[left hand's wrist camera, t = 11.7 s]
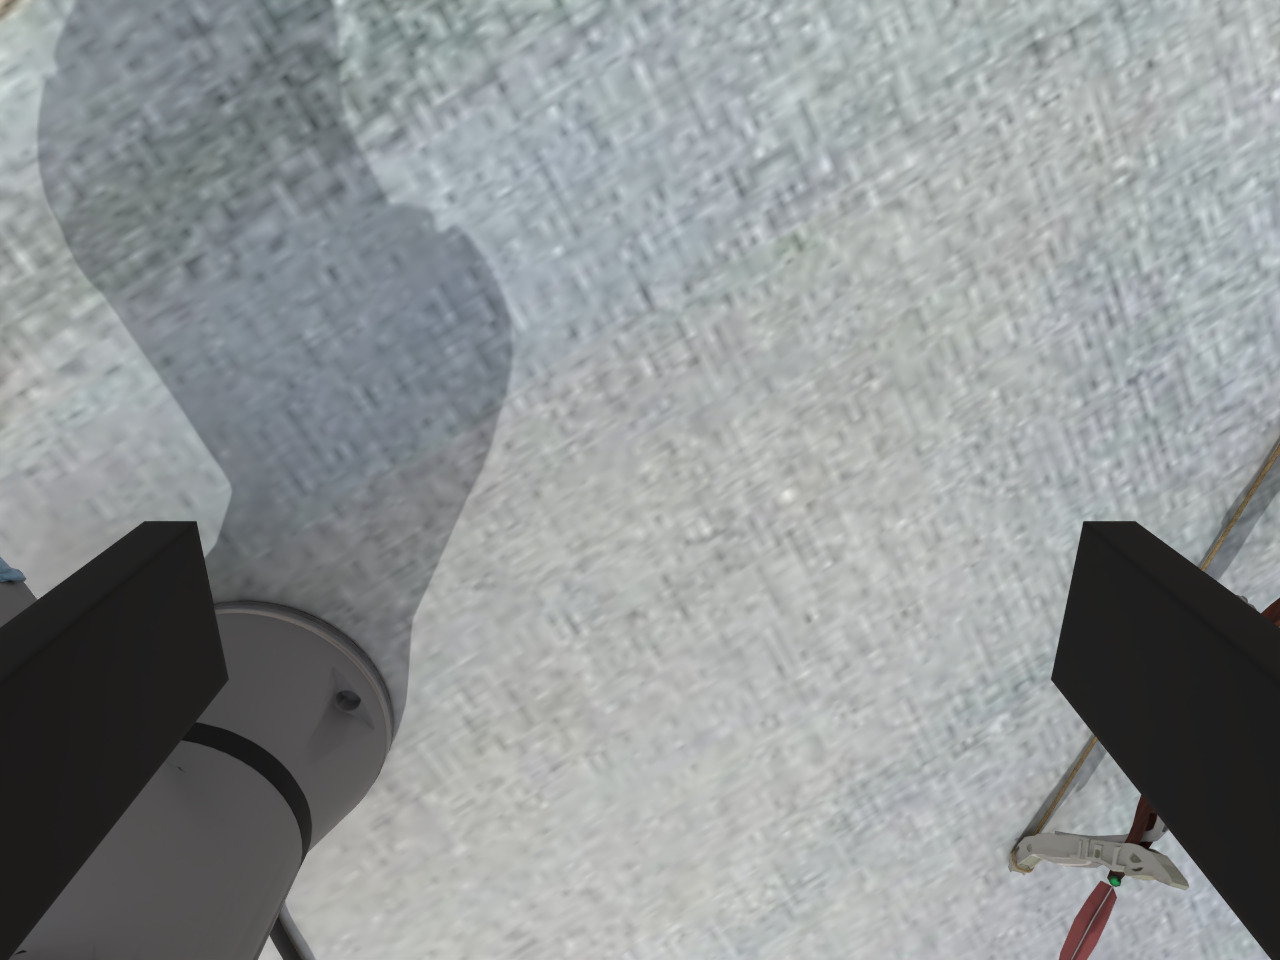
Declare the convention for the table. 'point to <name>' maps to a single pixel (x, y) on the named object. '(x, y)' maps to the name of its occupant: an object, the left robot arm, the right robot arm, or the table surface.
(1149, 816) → the bow
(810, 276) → the table surface
